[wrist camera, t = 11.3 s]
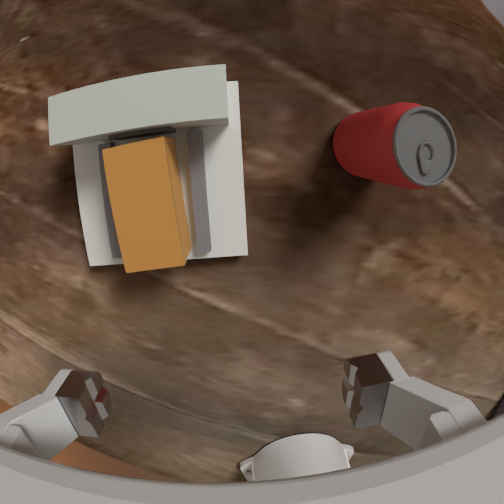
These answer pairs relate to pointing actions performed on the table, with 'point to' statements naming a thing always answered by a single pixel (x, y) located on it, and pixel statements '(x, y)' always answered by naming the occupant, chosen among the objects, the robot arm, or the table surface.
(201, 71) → the white l-shaped stand
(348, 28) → the table surface
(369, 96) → the table surface
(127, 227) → the cardboard box
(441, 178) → the beer can
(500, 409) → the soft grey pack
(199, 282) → the table surface
